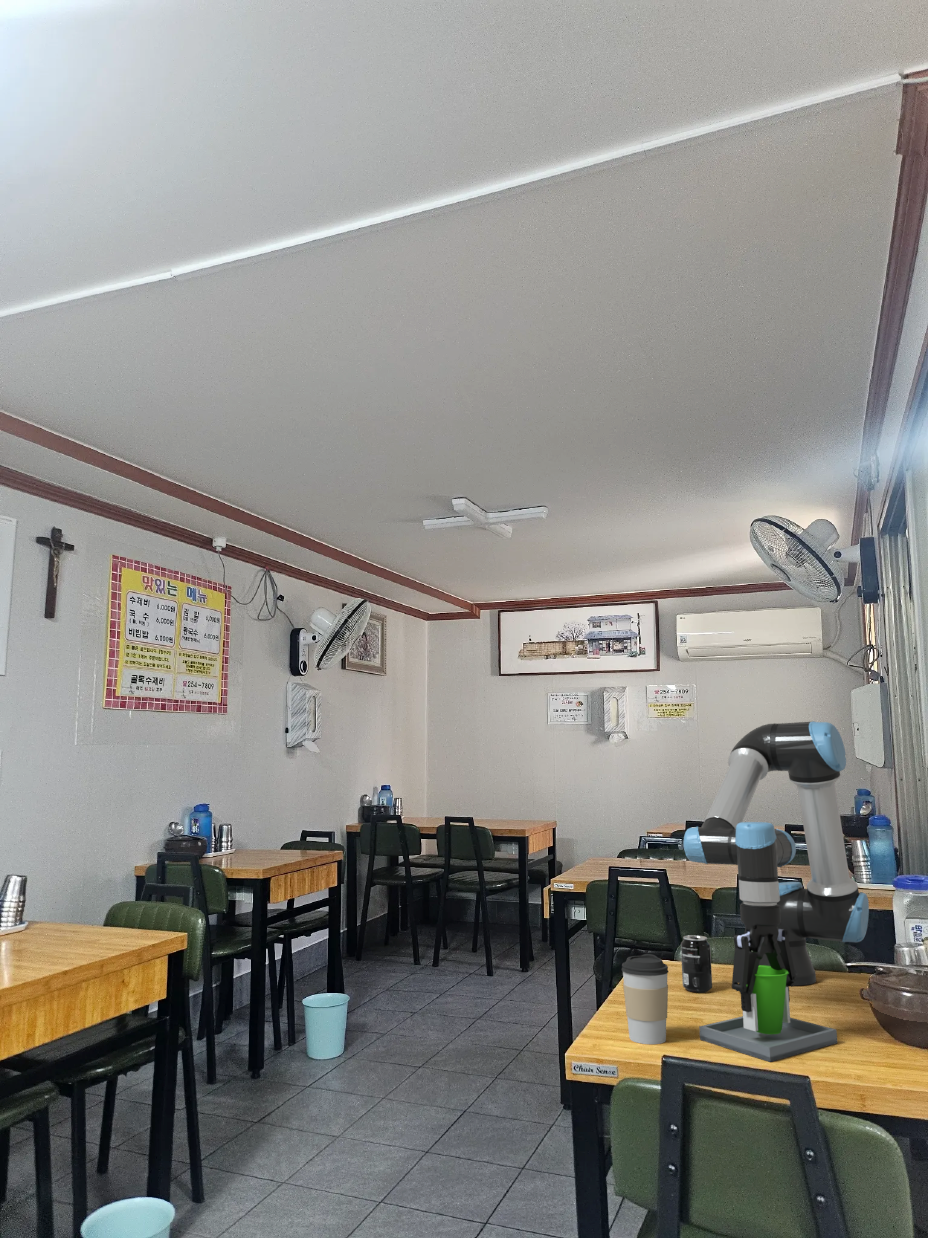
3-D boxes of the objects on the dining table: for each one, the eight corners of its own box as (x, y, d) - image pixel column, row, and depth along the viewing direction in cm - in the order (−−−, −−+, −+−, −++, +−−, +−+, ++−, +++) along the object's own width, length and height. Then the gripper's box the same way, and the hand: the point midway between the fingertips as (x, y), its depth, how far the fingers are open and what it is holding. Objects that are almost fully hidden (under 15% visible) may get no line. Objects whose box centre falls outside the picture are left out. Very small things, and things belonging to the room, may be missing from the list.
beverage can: (701, 986, 207) (699, 934, 209) (718, 993, 201) (715, 939, 203) (677, 988, 205) (674, 936, 207) (693, 995, 199) (690, 940, 201)
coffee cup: (662, 1049, 159) (658, 963, 162) (616, 1041, 164) (613, 958, 166) (677, 1037, 166) (674, 955, 169) (633, 1029, 171) (630, 950, 174)
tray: (766, 1023, 175) (765, 1011, 176) (837, 1043, 162) (836, 1029, 163) (699, 1039, 164) (699, 1026, 165) (770, 1062, 151) (769, 1047, 152)
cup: (796, 1039, 159) (792, 976, 161) (745, 1036, 160) (741, 974, 162) (788, 1025, 167) (784, 966, 169) (740, 1023, 169) (736, 964, 171)
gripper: (778, 896, 177) (786, 1012, 173) (707, 905, 165) (713, 1030, 161) (810, 900, 171) (819, 1021, 167) (738, 910, 159) (746, 1039, 155)
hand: (767, 1025), depth 164 cm, fingers closed on cup, 9 cm apart
